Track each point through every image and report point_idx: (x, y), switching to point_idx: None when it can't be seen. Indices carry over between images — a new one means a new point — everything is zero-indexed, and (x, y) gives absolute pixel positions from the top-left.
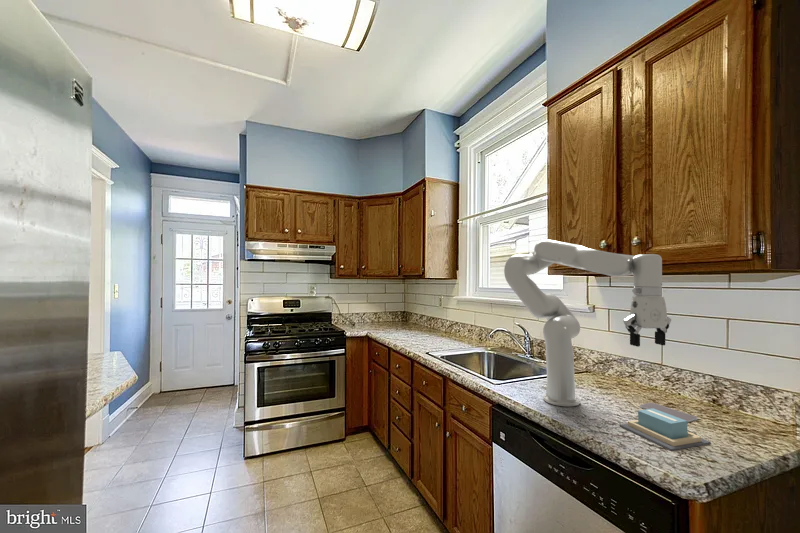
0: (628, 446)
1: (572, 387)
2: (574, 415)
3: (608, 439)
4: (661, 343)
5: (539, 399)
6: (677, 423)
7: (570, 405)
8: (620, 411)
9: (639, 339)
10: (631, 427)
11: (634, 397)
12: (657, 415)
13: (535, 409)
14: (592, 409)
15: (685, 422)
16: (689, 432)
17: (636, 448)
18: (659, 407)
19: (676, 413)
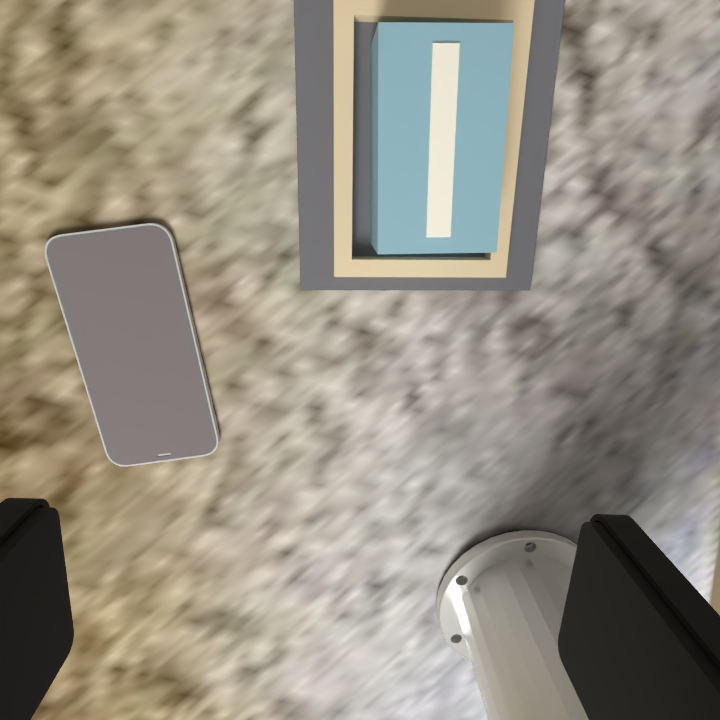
0: (696, 100)
1: (536, 613)
2: (607, 448)
3: (707, 191)
4: (50, 545)
5: None
6: (459, 24)
7: (544, 533)
8: (360, 429)
9: (682, 602)
10: (509, 247)
11: (126, 551)
12: (463, 154)
13: (705, 545)
14: (467, 482)
15: (391, 24)
16: (337, 58)
17: (683, 70)
18: (133, 404)
19: (115, 318)
